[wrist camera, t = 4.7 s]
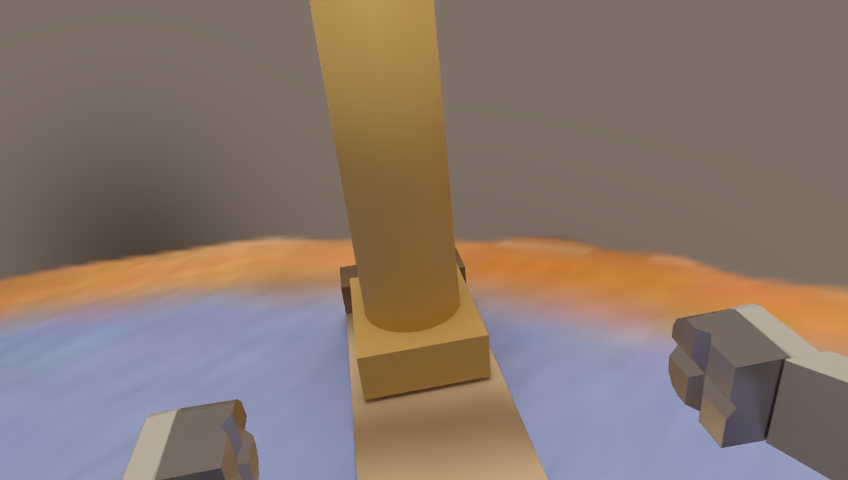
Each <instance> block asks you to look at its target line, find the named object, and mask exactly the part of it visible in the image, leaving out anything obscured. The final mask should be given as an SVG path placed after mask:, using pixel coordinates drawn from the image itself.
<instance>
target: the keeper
mask: <svg viewBox="0 0 848 480" xmlns="http://www.w3.org/2000/svg"><path fill="white" fill-rule="evenodd" d="M309 2H310V8H311V13H312V19H313V24H314V30H315V35H316V41H317V47H318V53H319V58H320V64H321V69H322V75H323V81H324V86H325V92H326V97H327V103H328V109H329V114H330V119H331V125H332V131H333V137H334V142H335V148H336V154H337V159H338V165H339V170H340V176H341V182H342V187H343V192H344V199H345V204H346V209H347V215H348V221H349V227H350V232H351V238H352V244H353V249H354V255H355V260H356V266H357V272H358V277H356V278H350V287H351V299H352V311H353V323H354V335H355V347H356V359H357V364H358V369H359V374H360V379H361V385H362V390H363V395H364V400H368V399H373V398H379V397H384V396H389V395H394V394H400V393H405V392H410V391H416V390H421V389H426V388H432V387H437V386H442V385H448V384H453V383H458V382H464V381H469V380H474V379H479V378H485V377H490V376H491V368H490V352H489V335H488V333H487V330H486V328H485V326H484V324H483V321H482V319H481V317H480V315H479V312H478V310H477V308H476V306H475V303H474V301H473V299H472V297H471V294H470V292H469V290H468V287H467V285H466V283H465V281H464V278H463V276H462V274H461V272H460V269H459V267H458V265H457V263H456V251H455V240H454V228H453V217H452V205H451V194H450V183H449V171H448V159H447V148H446V136H445V125H444V114H443V102H442V91H441V80H440V67H439V56H438V45H437V33H436V21H435V10H434V0H309Z"/></svg>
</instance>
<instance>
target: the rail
mask: <svg viewBox="0 0 848 480" xmlns="http://www.w3.org/2000/svg"><path fill="white" fill-rule="evenodd" d="M455 251H456V263H457V265H458V267H459V269H460V272H461V274H462V276H463V278H464V281H465V283H466V276H465V266H464V264H463V262H462V260H461V258H460V255H459V253H458V251H457V249H456V248H455ZM340 276H341V289H342V295H343V300H344V305H345V310H346V317H347V332H348V347H349V363H350V378H351V393H352V408H353V423H354V439H355V454H356V469H357V480H548V479H547V477H546V475H545V473H544V470H543V468H542V466H541V463H540V461H539V459H538V456H537V454H536V452H535V449H534V447H533V445H532V442H531V440H530V438H529V436H528V433H527V431H526V429H525V426H524V424H523V422H522V419H521V417H520V415H519V412H518V410H517V408H516V405H515V403H514V401H513V399H512V396H511V394H510V392H509V389H508V387H507V385H506V382H505V380H504V378H503V375H502V373H501V371H500V369H499V366H498V364H497V362H496V359H495V357H494V355H493V352H492V350H491V348H490V345H489V352H490V368H491V376H490V377H485V378H479V379H474V380H469V381H464V382H458V383H453V384H448V385H442V386H437V387H432V388H426V389H421V390H416V391H410V392H405V393H400V394H394V395H389V396H384V397H379V398H373V399H368V400H364V395H363V390H362V385H361V379H360V374H359V369H358V364H357V359H356V347H355V335H354V323H353V311H352V299H351V287H350V278H356V277H358V272H357V266H356V265H353V266H347V267H341V268H340Z"/></svg>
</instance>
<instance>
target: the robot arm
mask: <svg viewBox="0 0 848 480" xmlns="http://www.w3.org/2000/svg"><path fill="white" fill-rule="evenodd" d="M672 338H673V339H674V340H675V341H676V342H677V344H678V346H677V347H676V348H675V349H674V351H673V352H672V353H671V355H670V357H669V374H670V378H671V382H672V385H673V387H674V389H675V391H676V393H677V395H678V396H679V397H680V399H681V400H682V401H683V402H684V404H686V405H688V406H690V407H692V408H694V409H696V410H699V411H700V414H699V422H700V423H701V424H702V426H703V427H704V428H705V429H706V431H707V432H708V433H709V434H710V435H711V437H712V438H713V439H714V440H715V441H716V443H717V444H718V445H719V446H720V447H721V448H724V447H730V446H736V445H741V444H747V443H753V442H758V441H764V440H767V441H766V443H768V444H770V445H772V446H773V447H775V448H777V449H778V450H780V451H782V452H784V453H785V454H787V455H789V456H791V457H792V458H794V459H796V460H798V461H799V462H801V463H803V464H805V465H806V466H808V467H810V468H812V469H813V470H815V471H817V472H818V473H820V474H822V475H824V476H825V477H827V478H829V479H831V480H848V357H845V356H842V355H839V354H836V353H833V352H830V351H826V352H821V353H820V352H819V351H818V350H817V349H815V348H814V347H813V346H812V345H810V344H809V343H808V342H806V341H805V340H804V339H803V338H801V337H800V336H799V335H797V334H796V333H795V332H794V331H792V330H791V329H790V328H788V327H787V326H786V325H785V324H783V323H782V322H781V321H780V320H778V319H777V318H776V317H774V316H773V315H772V314H771V313H769V312H768V311H767V310H765V309H764V308H763V307H762V306H760V305H756V304H753V303H751V304H746V305H742V306H737V307H732V308H727V309H726V310H720V311H715V312H710V313H705V314H699V315H694V316H689V317H684V318H678V319H677V320H676V322H675V323H674V325H673V331H672ZM246 417H247V416H246V413H245V410H244V408H243V405H242V402H241V401H239V400H238V399H236V400H230V401H224V402H218V403H212V404H205V405H199V406H193V407H187V408H181V409H177V410H171V411H165V412H159V413H153V414H151V415H150V416H149V417H147V418H146V420H145V422H144V424H143V427H142V429H141V432H140V434H139V437H138V439H137V442H136V445H135V447H134V450H133V452H132V455H131V457H130V460H129V462H128V465H127V467H126V470H125V472H124V475H123V478H122V480H258V478H259V467H258V455H257V449H256V444H255V441H254V438H253V435H252V434H250V433H249V432H247V431H246V430H244V429H245V423H246Z"/></svg>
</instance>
